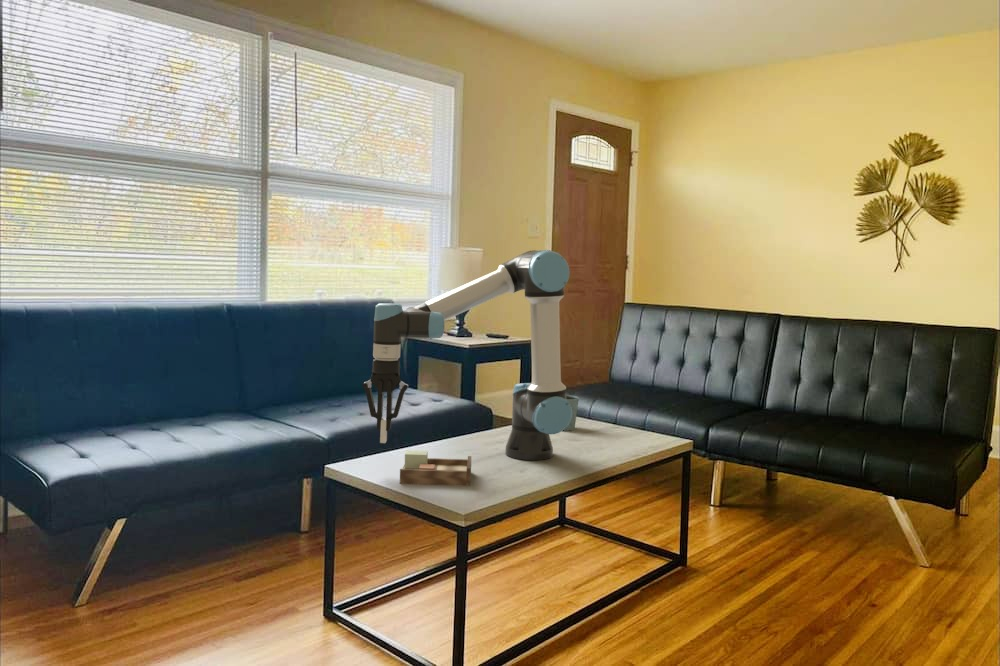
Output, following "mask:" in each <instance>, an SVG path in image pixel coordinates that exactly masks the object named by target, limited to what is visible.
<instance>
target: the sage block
mask: <svg viewBox="0 0 1000 666" xmlns="http://www.w3.org/2000/svg"><path fill="white" fill-rule="evenodd" d="M428 452H429V451H428V450H411V449H410V450H406V451H405V454H404V464H405V468H412V469H419V467H420V464H427V458H428V454H429V453H428Z"/></svg>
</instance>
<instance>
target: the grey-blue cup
mask: <svg viewBox="0 0 1000 666" xmlns="http://www.w3.org/2000/svg"><path fill="white" fill-rule="evenodd" d="M566 400H567V401H568V402H569V404H570V406H571V408H572V418H571V421H570V423H569V425H568V426H567V427H566V428H565V429H564V431H563V432H569V431H568V430H572V431H574V430H575V429H576V421H577V420H576V419H577V414H578V413H577V412H578V407H579V400H580V397H579V396H577V395H576V396H575V395H571V394H566Z"/></svg>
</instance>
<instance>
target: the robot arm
mask: <svg viewBox="0 0 1000 666" xmlns="http://www.w3.org/2000/svg"><path fill="white" fill-rule="evenodd" d="M569 278H570V267H569V264H568V261H567V260H566V259H565V258H564V256H562V254H560V253H559V252H556V251H553V250H548V249H544V250H542V249H541V250H535V249H534V250H528V251H525V252H522V253H521V254H519V255H517V256H515V257H513V258H512V259H510V260H507V261H505V262H504V263H501V264H499V265H498V267H497V269H496V270H494V271H492V272H489V273H487V274H485V275H482V276H480V277H478V278H475V279H473V280H471V281H469V282H467V283H465V284H462V285H460V286H458V287H455V288H453V289H451V290H448V291H446V292H444V293H443V294H440V295H438V296H436V297H433V298H431V299H429V300H427V301H424V302H423V303H420V304H417V305H416V306H411V307H407V308H404V309H403V306H402V304H400V303H389V302H388V303H386V302H382V303H381V302H380V303H379V302H378V303H377V304H376V305H375V309H374V316H373V317H374V318H373V345H372V356H373V358H374V359H373V360H372V370H371V372H372V373H371V376H370V377H369V378H370V379H369V380H367V381H364V382H363V383H362V384H361V385H362V386H361V387H362V388H363V390H364V391H365V395H366V399H367V404H368V405H367V406H368V410H369V414H370V417H372V418H375V419H376V431H379V432H380V435H379V436H380V437H379V444H386V443H387V441H388V432H390V431H391V429H392V419H396V418H397V417H398V416H399V413H400V410H401V406H402V403H403V398H404V396H405V393H406V391H407V389H408V388H409V384H408V383H405V382H404V381H402V377H401V376H400V372H401V371H400V369H401V361H400V360H399V359H400V358H401V348H402V347H401V346H402V345H401V343H402V339H403V338H404V339H429V340H432V339H440V338H442V337H443V335H444V331H445V325H446V323H445V321H448V320H449V319H451V318H454V317H456V316H458V315H460V314H463V313H465V312H467V311H469V310H471V309H473V308H476V307H478V306H480V305H482V304H484V303H487V302H489V301H491V300H493V299H495V298H498V297H499V296H502V295H505V294H506V293H508V294H511V295H512V294H515V293H517V292H519V291H523V290H524V297H525V298H526V300H527V301H528V302H529V304H530V308H529V309H530V310H529V312H530V315H529V316H530V347H531V348H530V349H531V352H530V353H531V354H530V355H531V380H532V381H531V382H524V383H523V382H521V383H520V382H518V383H516V384H514V386H513V389H512V412H511V414H512V415H511V432H510V434H509V437H508V440H507V442H506V445H505V455H506V456H508V457H509V458H512V459H517V460H525V461H541V460H542V461H543V460H548V459H550V458H552V457H553V456H554V454H553V453H554V447H553V444H552V441H551V435H556V434H560V433H562V432H564V431H563V430H564V429H565V428H566V427H567V426H568V425H569V423H570V421H571V418H572V408H571V406H570V404H569V402H568V401H567V400H566V395H567V386H566V384H564V383H563V382H562V375H561V374H562V373H561V372H562V371H561V370H562V369H561V331H560V330H561V329H560V325H561V324H560V323H561V321H560V320H561V319H560V301H562V299H563V298H565V286H566V285H567V283H568V281H569ZM373 386H374V389H375V390H376V391H377V409H376V405H375V400H374V396H373V392H372V387H373ZM398 386H399V387H398ZM397 387H398V389H399V393H398V395H397V400H396V402H395V403H396V404H395V406H394V410H393V393H394V391H395V390H396V388H397ZM384 393H386V413H385V414H386V415H385V418H384V417H383V411H384V410H383V407H384V405H383V404H384Z"/></svg>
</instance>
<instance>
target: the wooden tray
mask: <svg viewBox="0 0 1000 666" xmlns="http://www.w3.org/2000/svg"><path fill="white" fill-rule="evenodd" d="M427 464H434V465H435V470H421V469H412V468H405V463H404V464H403V467H402V468H400V469H399V484H400V485H424V486H428V485H431V486H456V487H457V486H459V487H460V486H461V487H462V486H463V487H470V486H471V478H472V477H471V476H472V475H471V474H472V455H468V456H467V458H466V459H465V458H464V459H461V458H460V459H459V458H431V457H429V458H427Z"/></svg>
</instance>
